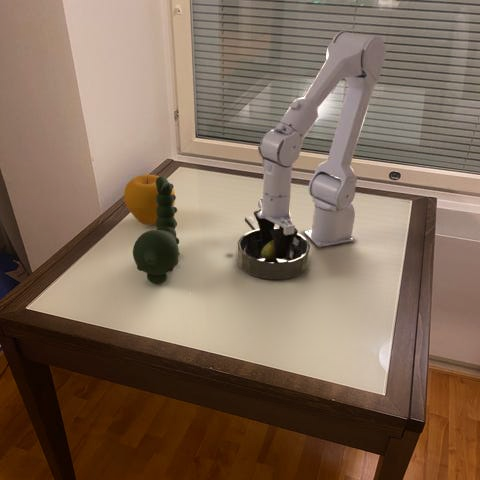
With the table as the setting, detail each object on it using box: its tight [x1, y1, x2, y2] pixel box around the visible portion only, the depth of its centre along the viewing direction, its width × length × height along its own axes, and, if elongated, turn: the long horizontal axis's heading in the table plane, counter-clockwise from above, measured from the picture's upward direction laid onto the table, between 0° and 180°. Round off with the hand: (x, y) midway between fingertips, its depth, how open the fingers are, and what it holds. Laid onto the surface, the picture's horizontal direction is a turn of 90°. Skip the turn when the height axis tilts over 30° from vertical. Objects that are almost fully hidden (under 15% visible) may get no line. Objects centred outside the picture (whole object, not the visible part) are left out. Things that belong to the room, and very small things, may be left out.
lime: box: [261, 240, 277, 261], centre depth 112 cm, size 4×5×5 cm
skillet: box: [236, 227, 311, 280], centre depth 113 cm, size 16×16×4 cm
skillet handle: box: [244, 215, 260, 235], centre depth 120 cm, size 2×8×1 cm, turn 21°
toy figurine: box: [132, 175, 181, 284], centre depth 107 cm, size 9×19×25 cm
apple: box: [123, 174, 176, 226], centre depth 127 cm, size 13×13×11 cm
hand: (273, 249), depth 112 cm, fingers open, 7 cm apart
